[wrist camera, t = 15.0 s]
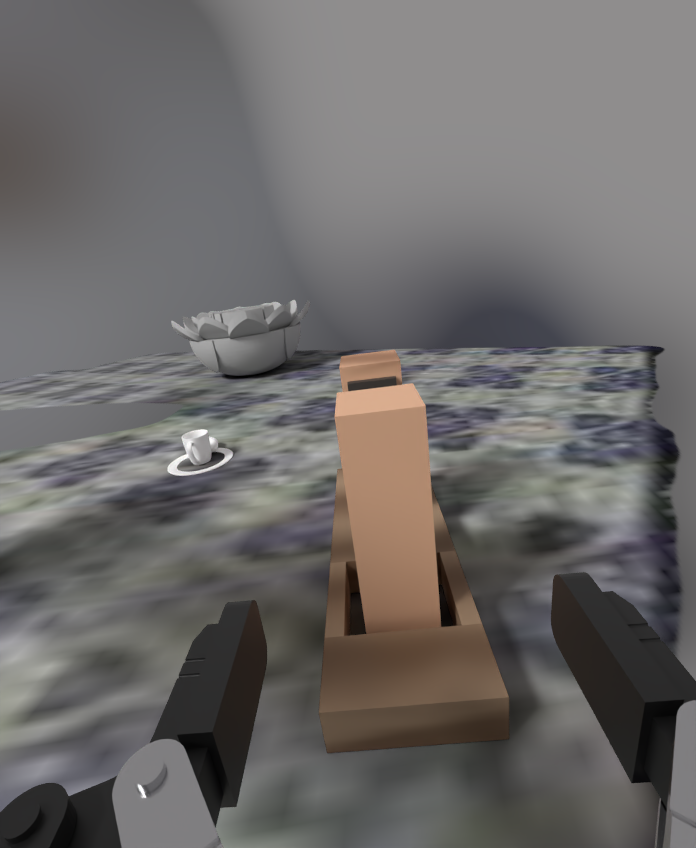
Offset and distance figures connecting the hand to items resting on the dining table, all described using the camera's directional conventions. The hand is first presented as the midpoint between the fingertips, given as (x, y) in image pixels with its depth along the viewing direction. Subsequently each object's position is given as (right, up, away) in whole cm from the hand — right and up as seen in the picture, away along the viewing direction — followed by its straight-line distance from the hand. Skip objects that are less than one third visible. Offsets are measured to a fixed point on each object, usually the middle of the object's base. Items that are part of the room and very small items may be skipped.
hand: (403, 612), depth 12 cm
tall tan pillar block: (+2, -7, +14) cm, 15 cm away
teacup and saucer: (-17, +1, +44) cm, 48 cm away
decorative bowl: (-25, +18, +94) cm, 99 cm away
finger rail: (+2, -5, +19) cm, 19 cm away
